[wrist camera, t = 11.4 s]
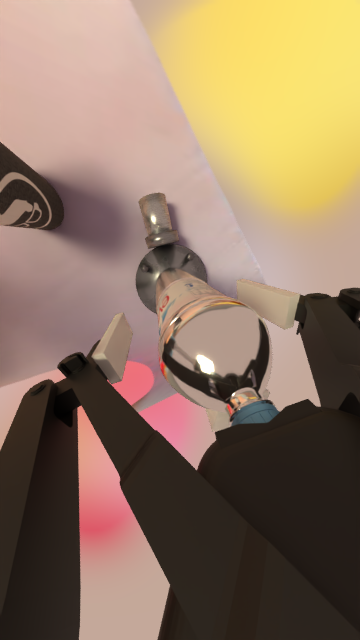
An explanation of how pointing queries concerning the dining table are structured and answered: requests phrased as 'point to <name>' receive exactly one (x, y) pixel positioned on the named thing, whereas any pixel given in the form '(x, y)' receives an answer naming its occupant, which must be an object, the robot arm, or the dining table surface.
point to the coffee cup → (26, 195)
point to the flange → (162, 250)
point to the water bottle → (213, 348)
